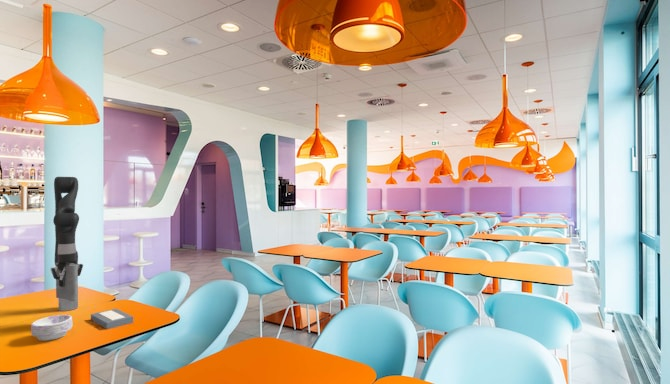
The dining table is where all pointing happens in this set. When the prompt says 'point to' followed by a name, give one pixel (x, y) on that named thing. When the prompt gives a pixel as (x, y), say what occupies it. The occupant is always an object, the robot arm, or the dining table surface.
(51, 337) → the paper bowls
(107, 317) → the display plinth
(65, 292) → the hip flask
